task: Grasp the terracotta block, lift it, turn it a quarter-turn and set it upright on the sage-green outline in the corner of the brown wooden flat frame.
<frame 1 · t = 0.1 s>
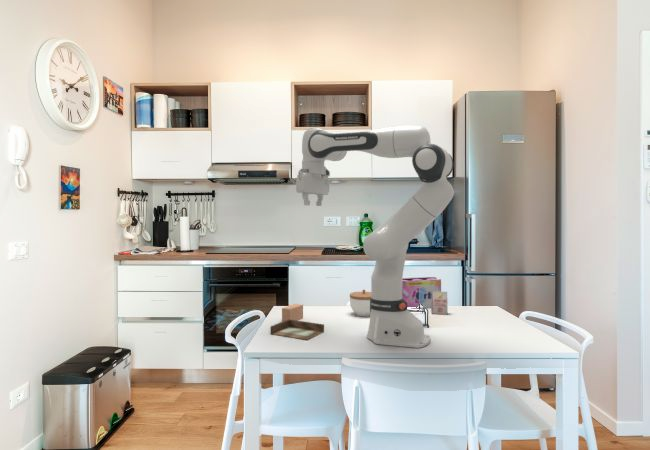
hand: (313, 205, 162), 48 cm above the table, fingers open, 8 cm apart
brown wooden flat frame: (297, 333, 153), on the table
lidded bowl: (363, 314, 183), on the table
small beige carton: (439, 314, 184), on the table
gum box: (416, 307, 199), on the table
terracotta block: (292, 320, 172), on the table
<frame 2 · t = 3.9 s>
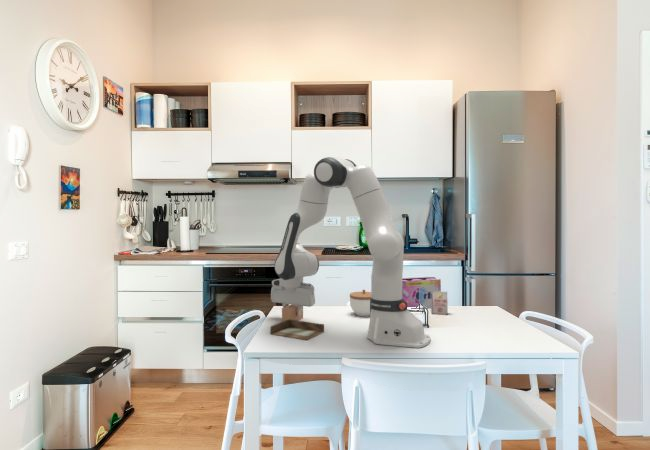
hand: (292, 314, 172), 2 cm above the table, fingers closed on terracotta block, 4 cm apart
terracotta block: (292, 320, 172), on the table, touching gripper
everything else where it was.
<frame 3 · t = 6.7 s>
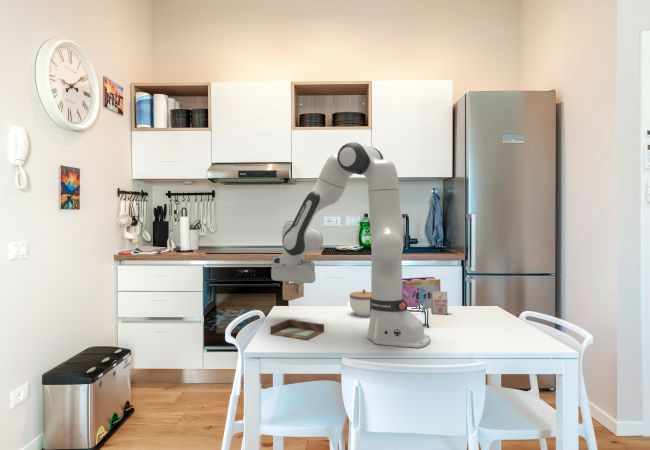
hand: (293, 292, 172), 12 cm above the table, fingers closed on terracotta block, 4 cm apart
terracotta block: (293, 297, 172), point 9 cm above the table, touching gripper
everything else where it was.
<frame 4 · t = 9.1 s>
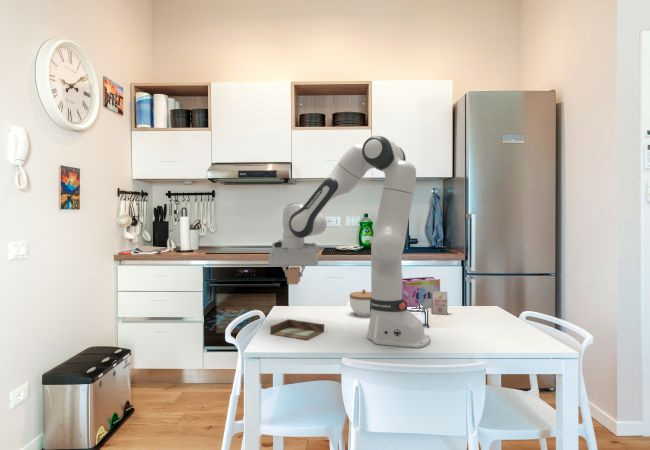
hand: (293, 276, 169), 19 cm above the table, fingers closed on terracotta block, 4 cm apart
terracotta block: (294, 282, 169), point 16 cm above the table, touching gripper
everything else where it was.
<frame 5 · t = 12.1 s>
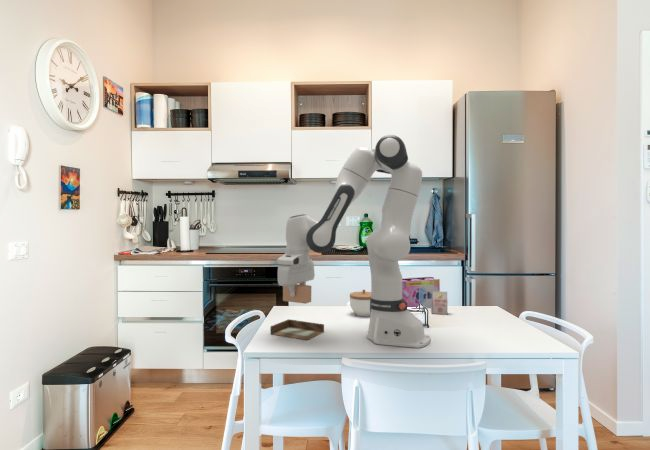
hand: (297, 295, 153), 14 cm above the table, fingers closed on terracotta block, 4 cm apart
terracotta block: (297, 301, 153), point 12 cm above the table, touching gripper
everything else where it was.
when the fingers open (4 cm above the table, at t = 14.5 s): terracotta block drops 2 cm, resting on brown wooden flat frame.
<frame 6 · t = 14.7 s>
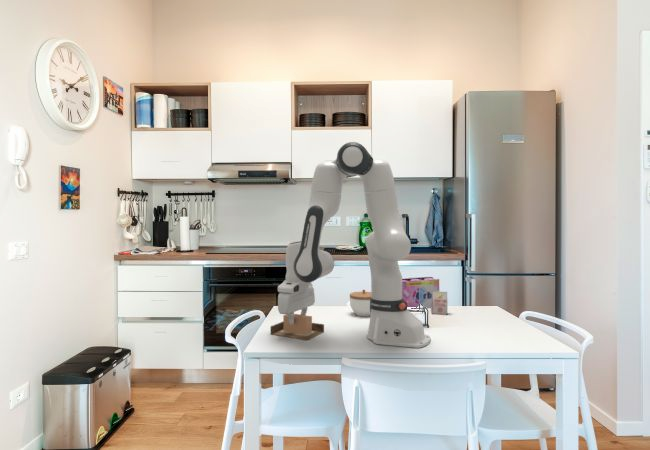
hand: (297, 321, 153), 4 cm above the table, fingers open, 6 cm apart
terracotta block: (297, 331, 153), resting on brown wooden flat frame
everything else where it was.
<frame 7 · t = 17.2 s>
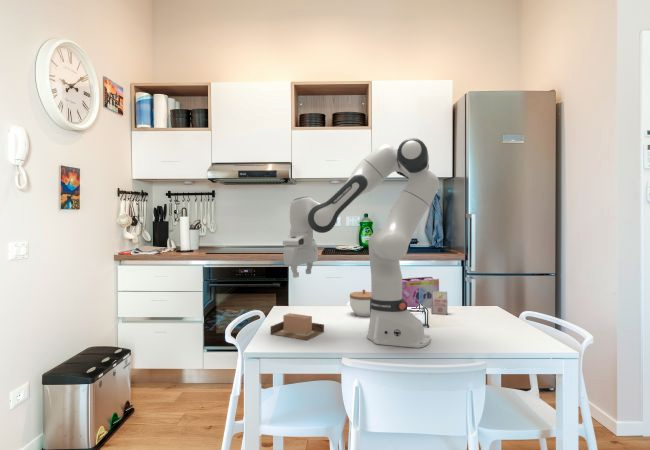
hand: (302, 275, 157), 21 cm above the table, fingers open, 8 cm apart
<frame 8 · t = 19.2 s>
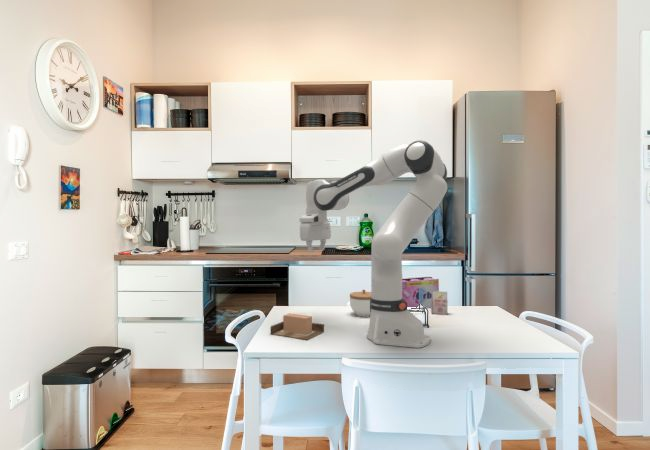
hand: (316, 250, 173), 29 cm above the table, fingers open, 8 cm apart
nothing on the table moved.
at the end: terracotta block 0.0 cm off-centre on the brown wooden flat frame, point 0.5 cm above the brown wooden flat frame's base; terracotta block tilted 0°; the gripper is holding nothing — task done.
